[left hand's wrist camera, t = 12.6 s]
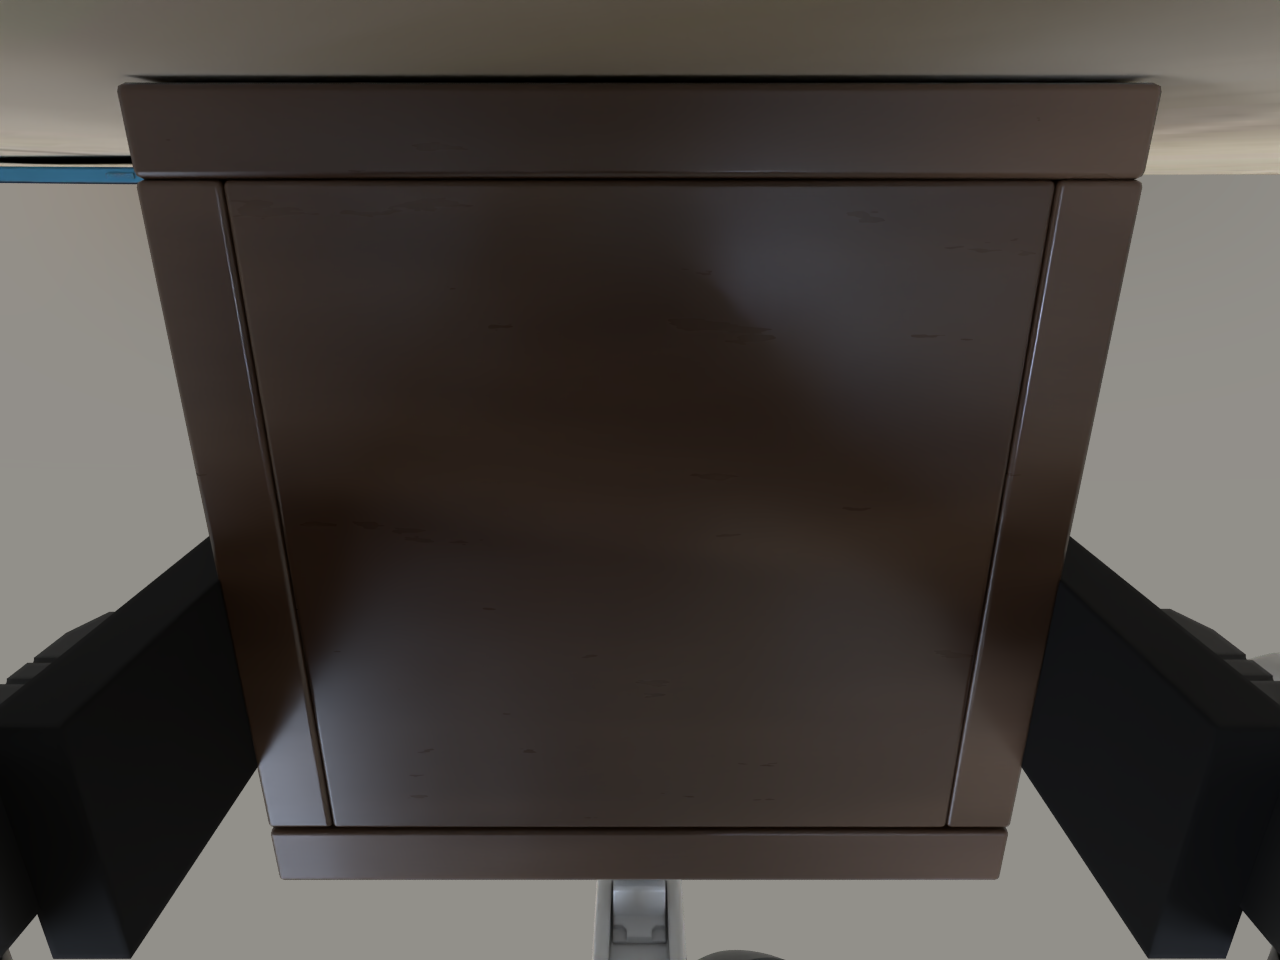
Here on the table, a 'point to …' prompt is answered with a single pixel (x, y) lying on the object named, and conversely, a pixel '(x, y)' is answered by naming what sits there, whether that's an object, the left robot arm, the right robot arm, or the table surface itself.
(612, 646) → the chest
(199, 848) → the left robot arm
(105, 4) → the table surface
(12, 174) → the smartphone
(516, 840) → the lid
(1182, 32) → the table surface
